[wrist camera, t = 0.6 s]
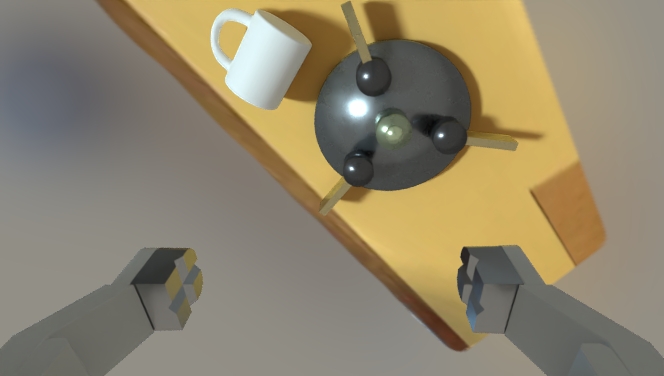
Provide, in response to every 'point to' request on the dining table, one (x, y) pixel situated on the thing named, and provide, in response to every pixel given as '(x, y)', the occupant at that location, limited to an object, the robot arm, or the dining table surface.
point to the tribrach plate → (406, 92)
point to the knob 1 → (367, 60)
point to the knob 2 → (349, 178)
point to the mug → (261, 56)
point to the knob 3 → (465, 137)
